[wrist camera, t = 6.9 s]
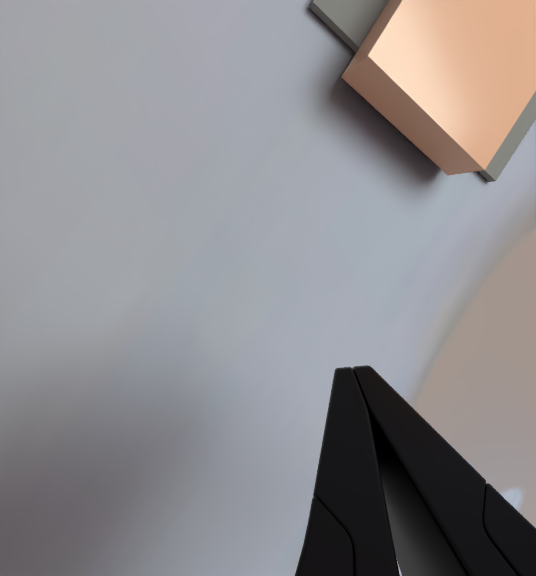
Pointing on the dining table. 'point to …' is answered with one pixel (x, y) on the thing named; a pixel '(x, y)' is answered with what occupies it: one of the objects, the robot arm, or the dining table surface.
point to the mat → (354, 29)
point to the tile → (450, 74)
